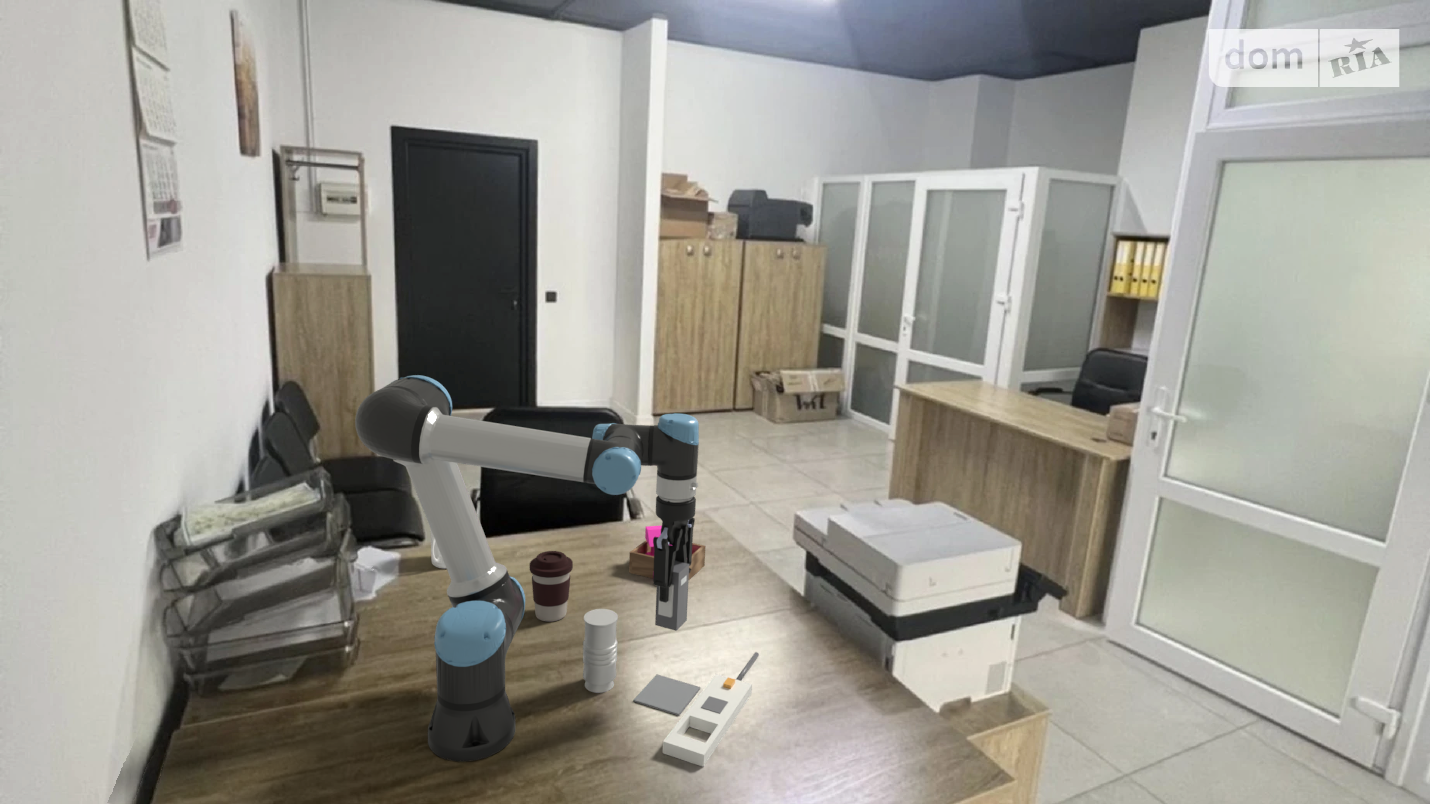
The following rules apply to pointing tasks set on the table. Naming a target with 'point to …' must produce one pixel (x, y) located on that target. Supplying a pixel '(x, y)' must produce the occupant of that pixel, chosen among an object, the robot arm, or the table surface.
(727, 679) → the power strip
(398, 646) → the table surface
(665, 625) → the block
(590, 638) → the grey ribbed canister
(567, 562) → the coffee cup
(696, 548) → the display box
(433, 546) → the mug
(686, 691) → the mat
